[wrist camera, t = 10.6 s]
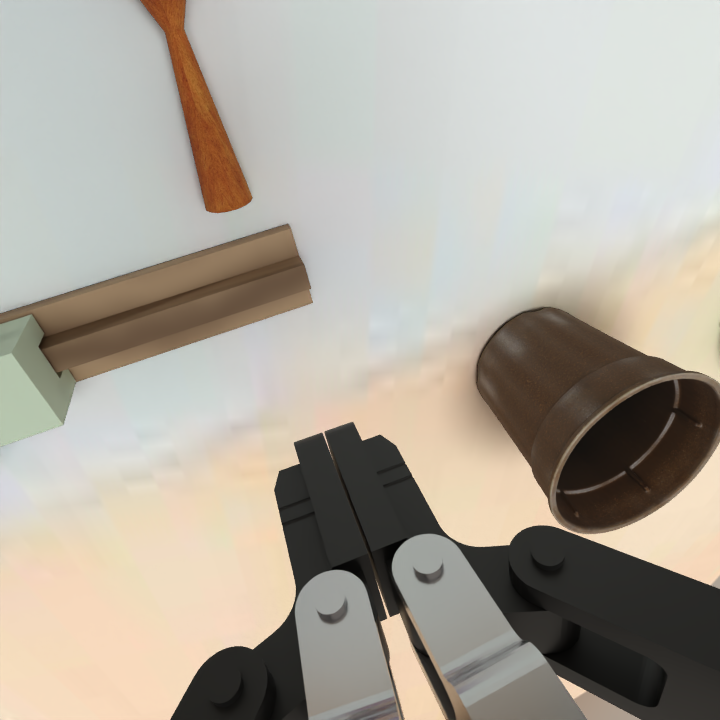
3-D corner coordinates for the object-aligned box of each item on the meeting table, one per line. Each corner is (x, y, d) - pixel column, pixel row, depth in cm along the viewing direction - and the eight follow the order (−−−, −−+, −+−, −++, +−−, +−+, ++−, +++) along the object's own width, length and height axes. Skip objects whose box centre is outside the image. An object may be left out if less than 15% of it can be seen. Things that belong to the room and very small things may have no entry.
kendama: (180, 228, 34) (3, -223, 22) (192, 195, 39) (53, -192, 26) (270, 211, 34) (146, -251, 22) (271, 179, 39) (170, -214, 26)
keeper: (-43, 337, 36) (-75, 380, 31) (31, 314, 36) (11, 352, 32) (9, 403, 39) (-13, 451, 34) (76, 381, 40) (63, 425, 35)
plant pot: (625, 320, 55) (765, 407, 42) (535, 436, 61) (634, 546, 48) (520, 261, 48) (652, 345, 35) (428, 400, 53) (511, 519, 40)
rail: (-67, 334, 36) (-98, 371, 32) (288, 223, 40) (300, 244, 36) (-12, 403, 40) (-33, 445, 36) (309, 296, 43) (323, 323, 39)
